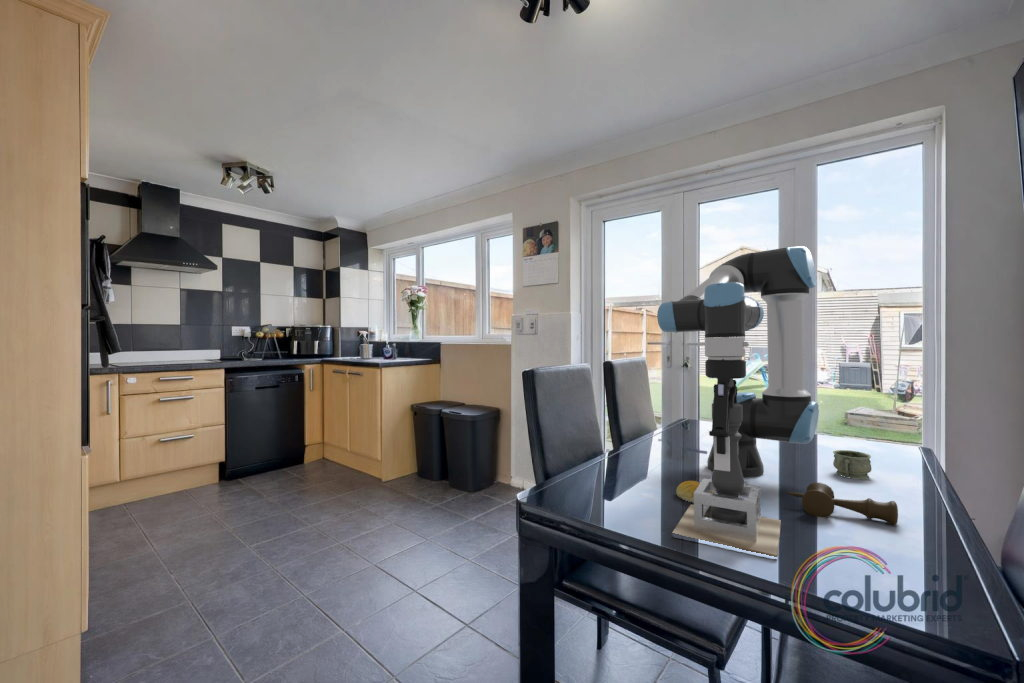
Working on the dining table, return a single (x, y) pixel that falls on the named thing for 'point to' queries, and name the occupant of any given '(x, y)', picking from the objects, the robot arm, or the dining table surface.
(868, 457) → the vessel
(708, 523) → the grey cinder block
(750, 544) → the stand base
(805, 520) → the dining table surface
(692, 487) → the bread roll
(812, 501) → the kendama
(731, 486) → the candle holder
